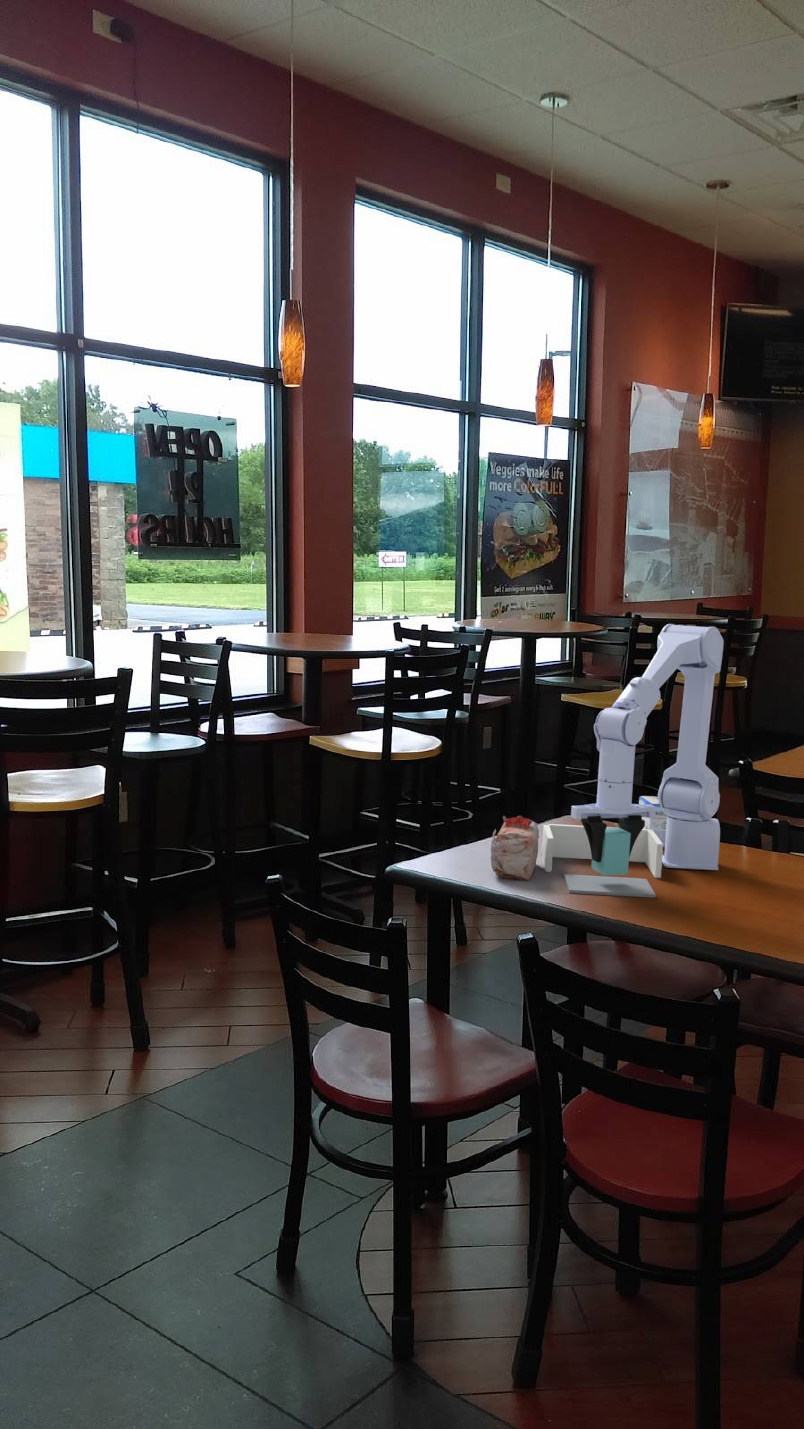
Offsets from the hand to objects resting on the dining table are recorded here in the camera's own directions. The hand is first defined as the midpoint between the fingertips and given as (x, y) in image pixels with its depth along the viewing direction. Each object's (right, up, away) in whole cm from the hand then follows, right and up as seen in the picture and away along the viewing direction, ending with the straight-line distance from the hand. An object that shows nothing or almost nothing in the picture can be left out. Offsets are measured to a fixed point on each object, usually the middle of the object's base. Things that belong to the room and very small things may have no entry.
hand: (610, 860), depth 189 cm
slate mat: (0, -5, +1) cm, 5 cm away
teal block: (0, -2, 0) cm, 2 cm away
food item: (-15, -3, +9) cm, 18 cm away
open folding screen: (+1, -3, +14) cm, 15 cm away
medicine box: (+15, -1, +36) cm, 39 cm away
